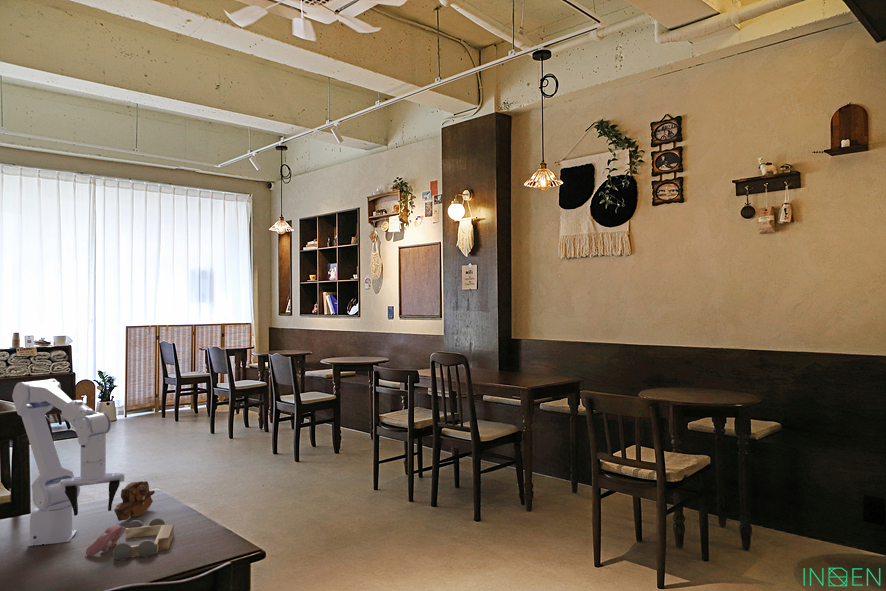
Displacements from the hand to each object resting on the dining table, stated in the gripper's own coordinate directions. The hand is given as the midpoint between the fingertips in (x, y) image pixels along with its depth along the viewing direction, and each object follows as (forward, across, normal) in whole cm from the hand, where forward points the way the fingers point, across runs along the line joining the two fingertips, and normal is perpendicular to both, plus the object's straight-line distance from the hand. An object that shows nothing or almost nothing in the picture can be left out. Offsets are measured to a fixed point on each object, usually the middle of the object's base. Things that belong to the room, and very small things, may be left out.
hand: (93, 512), depth 159 cm
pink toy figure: (+10, +3, -2) cm, 11 cm away
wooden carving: (+10, +10, +22) cm, 26 cm away
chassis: (+9, +12, -4) cm, 16 cm away
